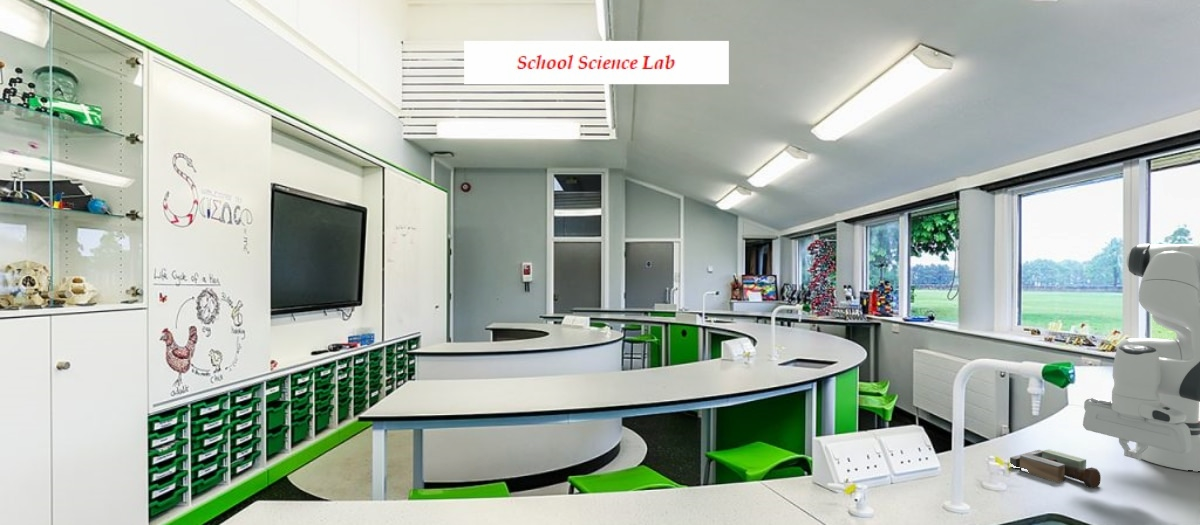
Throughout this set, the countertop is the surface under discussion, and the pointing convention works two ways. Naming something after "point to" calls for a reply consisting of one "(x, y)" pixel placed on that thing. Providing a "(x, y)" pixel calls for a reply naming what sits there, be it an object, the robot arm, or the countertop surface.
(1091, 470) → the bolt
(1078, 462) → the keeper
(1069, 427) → the countertop surface
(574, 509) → the countertop surface
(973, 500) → the countertop surface
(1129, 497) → the countertop surface
